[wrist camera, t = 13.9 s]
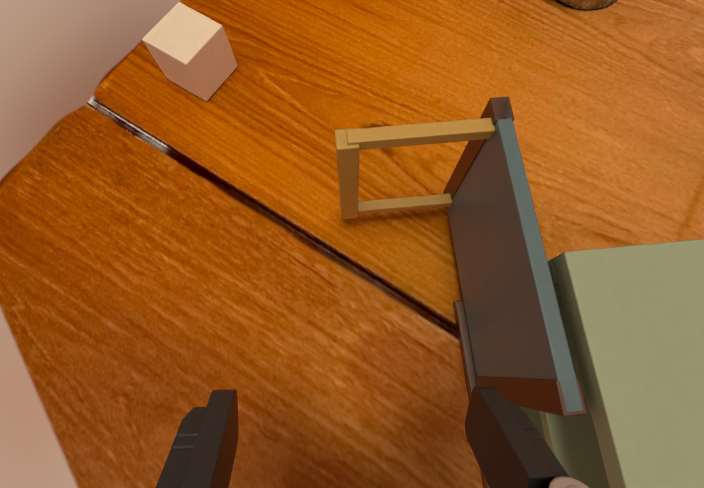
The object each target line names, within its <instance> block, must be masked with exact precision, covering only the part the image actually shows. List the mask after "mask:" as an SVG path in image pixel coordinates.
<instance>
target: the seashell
mask: <svg viewBox="0 0 704 488" xmlns="http://www.w3.org/2000/svg"><path fill="white" fill-rule="evenodd" d="M559 1H561V2H564V3H565V4H566V5H570V6H571V7H572V8H577V9H584V10H593V9H598V8H605V7H608V6H609V5H611V4H612V3H614V2H615V1H617V0H559Z"/></svg>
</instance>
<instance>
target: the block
mask: <svg viewBox="0 0 704 488" xmlns="http://www.w3.org/2000/svg"><path fill="white" fill-rule="evenodd" d="M142 40H143V42H144V43H145V45H146V47H147V48H148V50H149V51H150V53H151V54H152V56H153V57H154V59H155V61H156V62H157V64H158V65H159V67H160V68H161V70H162V71H163V73H164V75H165V76H166V78H167V79H168V80H170V81H172V82H174V83H175V84H177V85H179V86H180V87H182V88H184V89H186V90H187V91H189V92H191V93H192V94H194V95H196V96H198V97H199V98H201V99H203V100H204V101H208V100H209V98H210V97H211V96H212V95H213V94H214V93H215V92H216V90H217V89H218V88H219V87H220V86H221V85H222V84H223V83H224V81H225V80H226V79H227V78H228V77H229V76H230V75H231V73H232V72H233V71H234V70H235V69H236V68H237V67H238V65H237V62H236V60H235V57H234V55H233V52H232V49H231V47H230V44H229V41H228V39H227V36H226V34H225V31H224V28H223V26H222V25H221V24H219V23H217V22H215V21H213V20H212V19H210V18H208V17H206V16H204V15H202V14H200V13H199V12H197V11H195V10H193V9H191V8H189V7H187V6H185V5H184V4H182V3H180V2H178V3H177V4H176V5H175V6H174V7H173V8H172V9H171V10H170V11H169V12H168V13H167V14H166V15H165V16H164V17H163V18H162V19H161V20H160V21H159V22H158V23H157V24H156V25H155V26H154V27H153V28H152V29H151V30H150V31H149V32H148V34H147V35H146V36H145V37H144V38H143V39H142Z"/></svg>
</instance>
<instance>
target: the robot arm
mask: <svg viewBox="0 0 704 488" xmlns="http://www.w3.org/2000/svg"><path fill="white" fill-rule="evenodd" d="M465 431H466V436H467V440H468V442H469V444H470V446H471V449H472V451H473V453H474V455H475V457H476V459H477V462H478V464H479V466H480V468H481V470H482V473H483V475H484V477H485V479H486V481H487V483H488V486H489V488H590V487H588V486H587V485H585V484H584V483H582V482H580V481H578V480H576V479H573V478H570V477H569V475H568V474H567V472H566V471H565V469H564V468H563V466H562V465H561V464H560V462H559V461H558V459H557V458H556V456H555V455H554V453H553V452H552V450H551V449H550V447H549V446H548V445H547V443H546V442H545V440H544V439H542V436H541V434H540V433H539V431H538V430H537V428H535V426H534V424H533V423H532V421H531V420H530V418H529V417H528V415H527V414H526V413H525V412H524V411H523V410H522V409H521V408H519V407H518V406H517V405H516V404H515V403H513V402H507V401H506V400H505V398H504V397H503V395H502V394H501V392H500V391H499V389H498V388H497V387H474V388H473V389H472V392H471V396H470V401H469V406H468V411H467V416H466V421H465ZM237 441H238V403H237V391H236V390H213V391H212V393H211V396H210V399H209V402H208V405H207V407H194V408H193V409H192V410H191V411H190V412H189V413H188V414H187V415H186V417H185V418H184V419H183V420H182V422H181V424H180V427H179V430H178V432H177V436H176V437H175V440H174V442H173V445H172V449H171V450H170V453H169V455H168V458H167V460H166V463H165V465H164V468H163V470H162V473H161V476H160V478H159V481H158V483H157V486H156V488H228V487H229V482H230V477H231V472H232V467H233V463H234V458H235V453H236V448H237Z"/></svg>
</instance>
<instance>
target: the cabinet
mask: <svg viewBox="0 0 704 488" xmlns="http://www.w3.org/2000/svg"><path fill="white" fill-rule="evenodd" d="M548 266H549V270H550V274H551V278H552V282H553V286H554V290H555V294H556V298H557V302H558V306H559V310H560V314H561V318H562V322H563V326H564V330H565V334H566V338H567V343H568V347H569V351H570V355H571V359H572V363H573V367H574V371H575V375H576V378H578V379H579V381H580V385H581V389H582V393H583V397H584V401H585V405H586V409H587V414H586V415H576V416H566V417H564V416H560V415H555V414H551V413H546V412H542V411H537V410H533V409H528V408H524V407H519V406H518V407H519V408H521V409H522V410H523V411H524V412H525V413H526V414H527V415H528V417H529V418H530V420H531V421H532V423H533V424H534V426H535V428H537V430H538V431H539V433H540V434H541V436H542V439H544V440H545V442H546V443H547V445H548V446H549V447H550V449H551V450H552V452H553V453H554V455H555V456H556V458H557V459H558V461H559V462H560V464H561V465H562V466H563V468H564V469H565V471H566V472H567V474H568V475H569V477H570V478H573V479H576V480H578V481H580V482H582V483H584V484H585V485H587V486H588V487H590V488H704V239H699V240H688V241H677V242H666V243H655V244H645V245H634V246H623V247H612V248H601V249H590V250H579V251H568V252H564V253H562V254H560V255H558V256H557V257H555V258H553V259H551V260H549V261H548ZM453 306H454V312H455V318H456V324H457V330H458V336H459V342H460V348H461V354H462V360H463V366H464V372H465V378H466V384H467V390H468V395H469V401H470V396H471V392H472V389H473V388H474V387H477V383H476V376H477V374H476V369H475V363H474V357H473V352H472V346H471V340H470V335H469V329H468V323H467V318H466V312H465V307H464V301H463V300H461V301H455V302H453ZM481 473H482V470H481ZM482 479H483V484H484V488H489V486H488V483H487V481H486V479H485V477H484V475H483V473H482Z"/></svg>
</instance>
